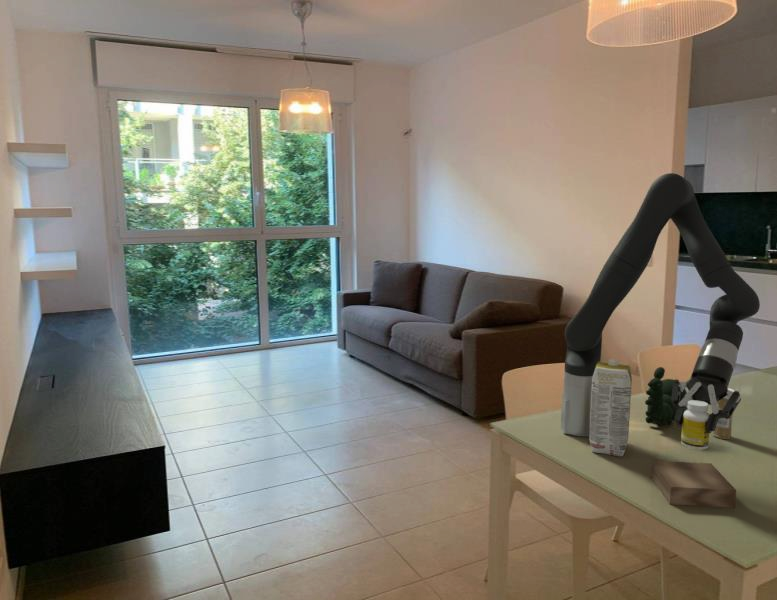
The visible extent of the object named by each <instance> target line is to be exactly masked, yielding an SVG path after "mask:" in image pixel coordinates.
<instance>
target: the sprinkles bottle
mask: <svg viewBox="0 0 777 600" xmlns="http://www.w3.org/2000/svg"><path fill="white" fill-rule="evenodd" d="M728 390H730V391H732V392H734V391H735V390H734V389H733V388H729V387H728ZM727 402H728V396H725V397H724V398H722V399H721V400H719V401H718V405H719V410H723V408H724V406H725V405H726V403H727ZM733 415H734V413H733V414H732V415H731V417H730V418H729V419H725V418H720V419H719V420H718V423H717V426H716V429H715V431H714V432H713V431H712V436H713V437H715V438H717V439H721V440H729V439H731V438H732V430H733V429H732V427H733V421H734V420H733V418H734V416H733Z"/></svg>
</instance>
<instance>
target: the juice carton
mask: <svg viewBox="0 0 777 600" xmlns="http://www.w3.org/2000/svg"><path fill="white" fill-rule="evenodd" d="M631 370H632V369H631V367H630V364H626V363H625V364H619V360H618V359H614V358H613V359H610V358H609V359H607V362H602V361H600V362H598V363H597V364H596V367H595V369H594V373H593V379H592V393H591V414H590V436H589V443H590V449H591V452H592V453H596V454H603V455H609V456H614V457H623V456H624V454H625V451H626V449H627V445H628V442H629V431H630V430H629V429H630V417H631V416H630V415H631V399H632V386H633V385H632V381H633V379H632V378H633V377H632V371H631Z"/></svg>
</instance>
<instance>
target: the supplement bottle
mask: <svg viewBox="0 0 777 600" xmlns="http://www.w3.org/2000/svg"><path fill="white" fill-rule="evenodd" d="M687 408H688V409H687V410H686V411H684V413H683V423H682V426H681V436H680V437H681V438H680V443H681V445H683V447H685V448H688V449H691V450H692V449H693V450H701V451H702V450H706V449H708V447H709V442H710V441H709V440H710V433H707V432H706V425H707V422H708V419H709V416H710V414H709V413H708V410H709V404H708V403H706V402H703V401H698V400H690V401H688V406H687Z"/></svg>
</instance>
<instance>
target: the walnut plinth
mask: <svg viewBox="0 0 777 600" xmlns="http://www.w3.org/2000/svg"><path fill="white" fill-rule="evenodd" d="M650 474H651V475H650V478H651V479H652V480H653V481H654V483H655V485H656V487H657V488H658V489H659V491H660V492H661V493H662V495H663V497H664V498H665V499H666V501H667V502H668V504H669V505H674V506H675V505H679V506H694V507H696V506H697V507H710V508H711V507H713V508H714V507H715V508H733V509H735V508H736V507H735V505H736V495H737V489H736V488H735V487H734V486H733V485H732V484H731V483H730V482H729V481H728V480H727V479H726V477H724V475H722V473H721V472H720V471H719V470H718V468H716V466H714V464H712V463H711V462H710V463H708V462H689V461H688V462H686V461H667V460H663V461H662V460H652V461H651V473H650Z"/></svg>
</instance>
